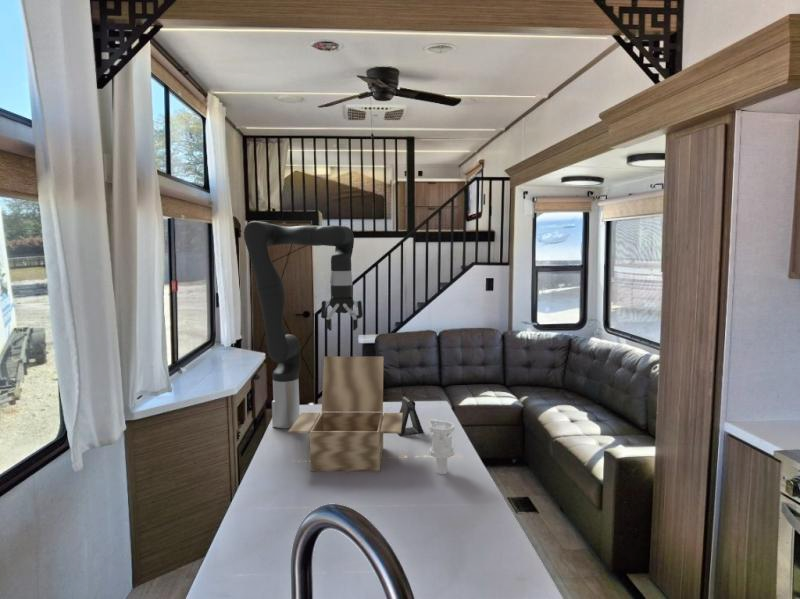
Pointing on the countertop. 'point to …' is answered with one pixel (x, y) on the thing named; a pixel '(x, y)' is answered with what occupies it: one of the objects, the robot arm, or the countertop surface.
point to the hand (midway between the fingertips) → (342, 330)
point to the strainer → (441, 444)
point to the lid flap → (353, 384)
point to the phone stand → (407, 409)
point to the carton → (347, 438)
